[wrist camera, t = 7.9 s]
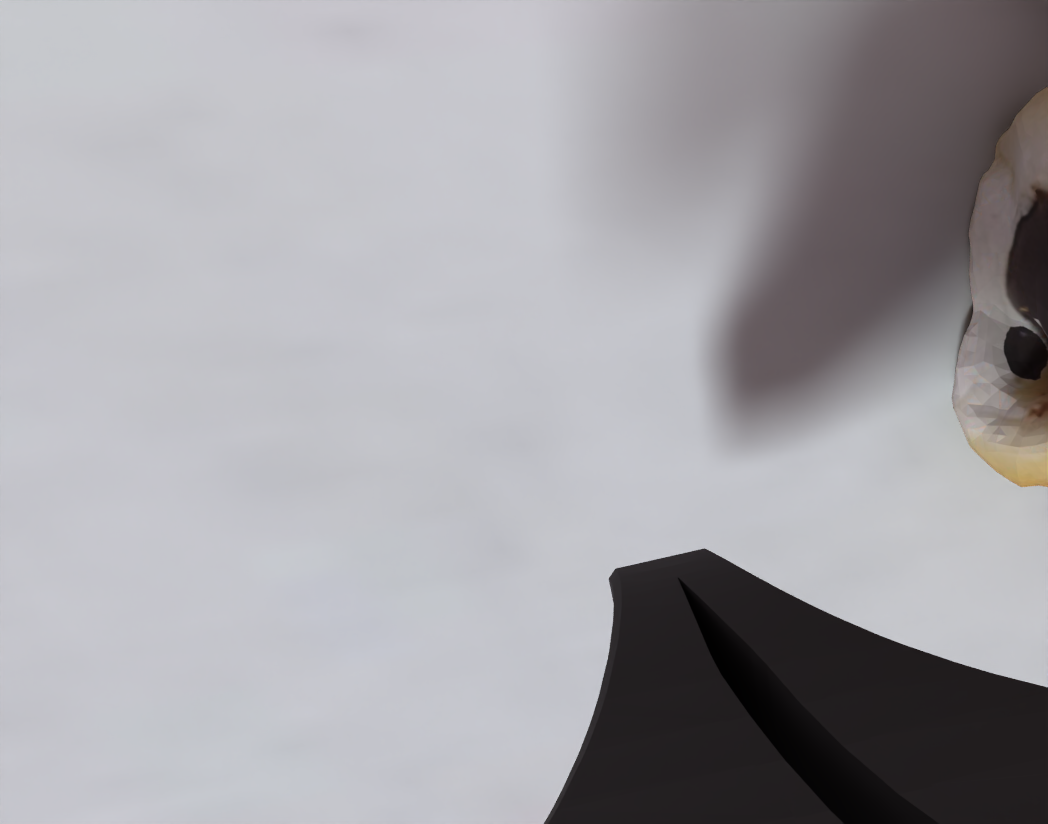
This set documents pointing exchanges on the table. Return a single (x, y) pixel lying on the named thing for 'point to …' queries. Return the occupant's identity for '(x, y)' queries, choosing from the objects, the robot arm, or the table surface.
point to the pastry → (1009, 307)
